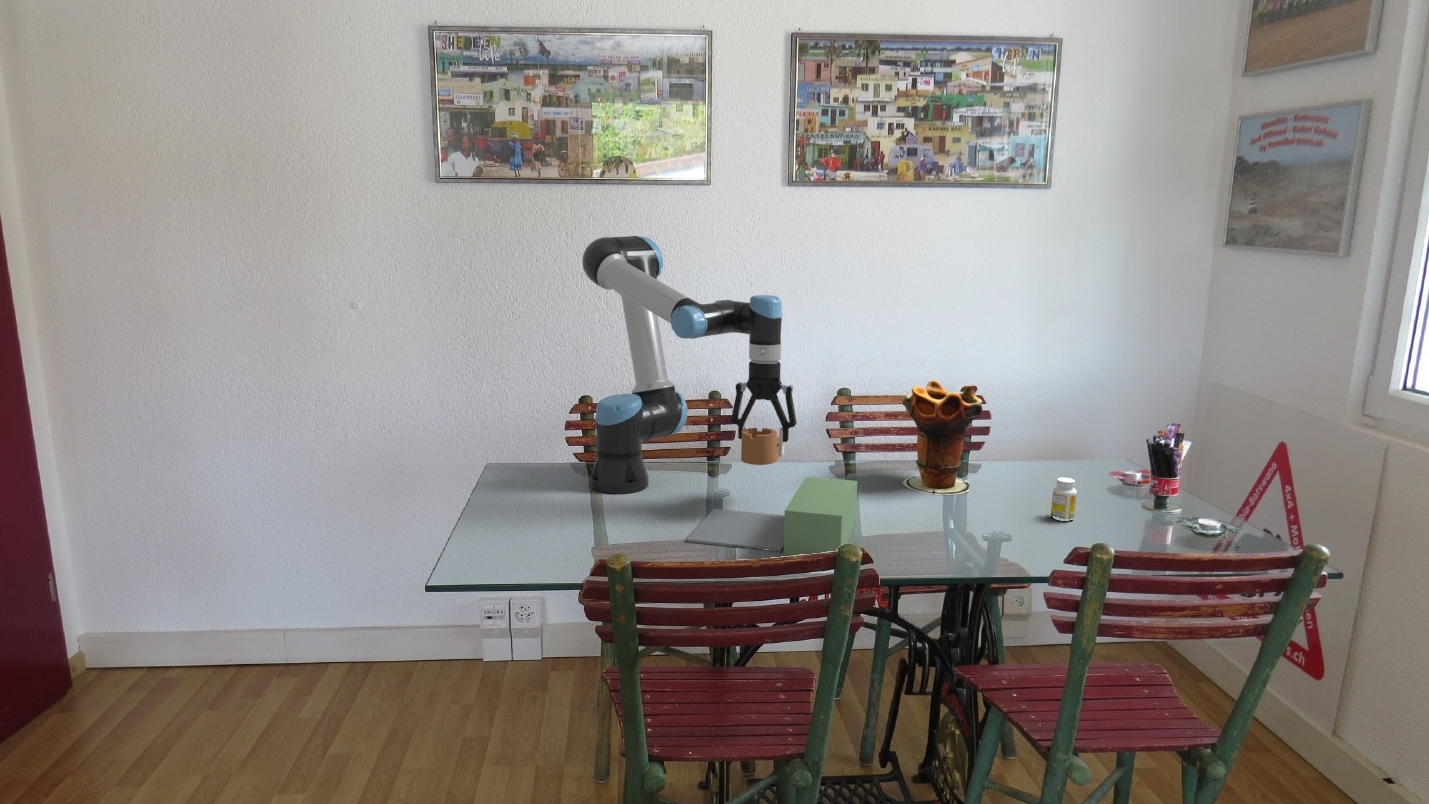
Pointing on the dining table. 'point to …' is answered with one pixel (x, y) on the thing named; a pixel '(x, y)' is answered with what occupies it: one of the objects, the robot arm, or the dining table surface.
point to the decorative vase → (940, 436)
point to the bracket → (759, 446)
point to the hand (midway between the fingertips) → (762, 453)
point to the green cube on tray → (789, 521)
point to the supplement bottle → (1064, 499)
